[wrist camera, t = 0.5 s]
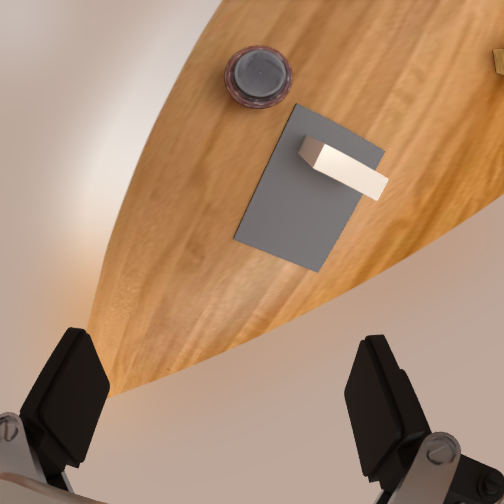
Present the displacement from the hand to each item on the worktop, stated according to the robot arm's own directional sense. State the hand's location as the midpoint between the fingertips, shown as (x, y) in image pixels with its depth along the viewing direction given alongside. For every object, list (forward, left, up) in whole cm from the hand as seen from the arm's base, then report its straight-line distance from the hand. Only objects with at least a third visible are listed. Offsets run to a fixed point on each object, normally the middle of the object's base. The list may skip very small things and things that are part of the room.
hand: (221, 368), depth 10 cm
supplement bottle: (-11, -3, -29) cm, 31 cm away
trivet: (-1, +8, -29) cm, 30 cm away
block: (-6, +8, -28) cm, 30 cm away
